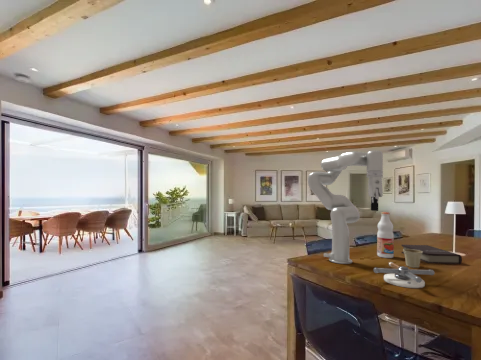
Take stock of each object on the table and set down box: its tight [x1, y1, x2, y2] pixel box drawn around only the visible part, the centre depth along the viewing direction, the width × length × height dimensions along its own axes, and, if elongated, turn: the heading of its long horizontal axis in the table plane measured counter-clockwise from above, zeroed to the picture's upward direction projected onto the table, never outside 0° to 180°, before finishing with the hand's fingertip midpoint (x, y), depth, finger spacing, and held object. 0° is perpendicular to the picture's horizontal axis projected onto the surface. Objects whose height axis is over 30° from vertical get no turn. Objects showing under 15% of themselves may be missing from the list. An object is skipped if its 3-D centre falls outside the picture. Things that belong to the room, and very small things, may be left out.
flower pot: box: [402, 249, 423, 269], centre depth 156 cm, size 9×9×9 cm
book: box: [401, 244, 463, 265], centre depth 178 cm, size 28×20×6 cm
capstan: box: [373, 261, 435, 283], centre depth 128 cm, size 26×26×5 cm
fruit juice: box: [376, 211, 395, 259], centre depth 180 cm, size 9×9×28 cm
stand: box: [383, 273, 426, 289], centre depth 128 cm, size 16×16×2 cm
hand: (374, 210), depth 145 cm, fingers closed
